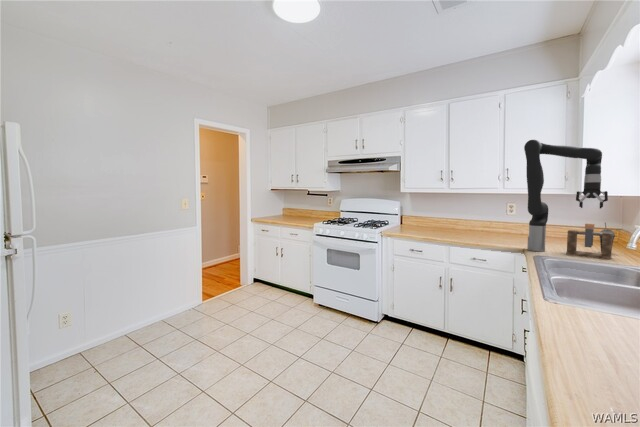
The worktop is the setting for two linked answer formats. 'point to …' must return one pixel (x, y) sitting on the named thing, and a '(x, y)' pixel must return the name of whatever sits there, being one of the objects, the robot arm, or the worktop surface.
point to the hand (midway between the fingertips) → (590, 208)
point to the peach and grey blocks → (589, 234)
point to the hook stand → (604, 255)
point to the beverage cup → (607, 232)
